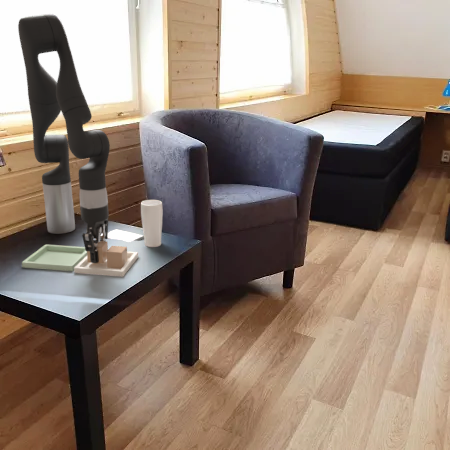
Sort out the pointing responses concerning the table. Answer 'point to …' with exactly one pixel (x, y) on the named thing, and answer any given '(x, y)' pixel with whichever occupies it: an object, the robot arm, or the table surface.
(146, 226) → the drinking glass
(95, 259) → the robot arm
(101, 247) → the tan boxy piece
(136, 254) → the tray
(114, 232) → the external hard drive
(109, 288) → the table surface
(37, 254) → the tray
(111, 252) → the tan block
